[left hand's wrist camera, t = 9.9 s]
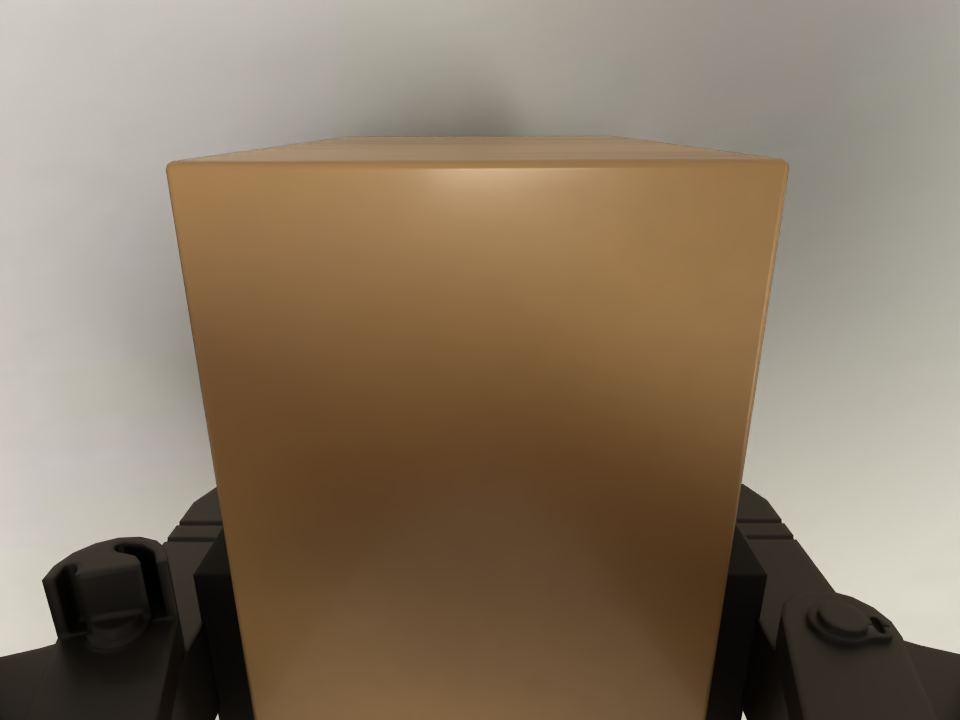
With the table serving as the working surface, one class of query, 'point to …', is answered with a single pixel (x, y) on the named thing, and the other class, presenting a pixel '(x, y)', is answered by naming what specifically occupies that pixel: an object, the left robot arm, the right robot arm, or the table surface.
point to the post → (478, 415)
